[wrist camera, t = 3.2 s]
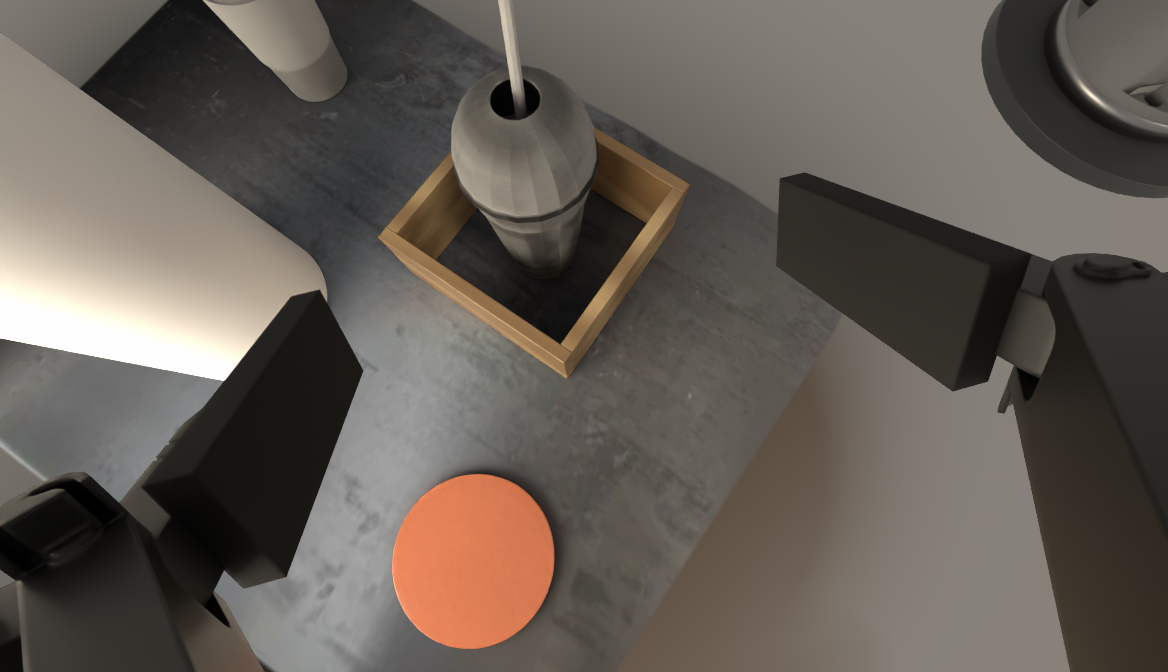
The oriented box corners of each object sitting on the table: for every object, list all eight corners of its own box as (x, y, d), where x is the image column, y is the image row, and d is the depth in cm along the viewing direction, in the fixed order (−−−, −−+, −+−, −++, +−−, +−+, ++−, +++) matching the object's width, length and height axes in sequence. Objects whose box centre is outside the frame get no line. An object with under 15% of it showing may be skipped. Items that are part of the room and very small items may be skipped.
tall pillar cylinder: (359, 299, 34) (-222, -89, 9) (241, 414, 32) (-869, 302, 7) (260, 209, 35) (-453, -322, 11) (143, 314, 33) (-1035, -48, 9)
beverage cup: (487, 292, 34) (359, 81, 14) (501, 200, 36) (404, -100, 16) (589, 302, 34) (598, 102, 14) (598, 209, 35) (618, -83, 16)
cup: (285, 125, 37) (149, -24, 25) (264, 59, 38) (125, -111, 27) (373, 95, 38) (280, -65, 26) (349, 31, 39) (250, -147, 27)
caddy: (523, 136, 37) (512, 78, 31) (672, 228, 35) (690, 184, 29) (412, 273, 34) (377, 236, 28) (567, 379, 32) (564, 363, 27)
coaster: (534, 456, 31) (533, 456, 31) (572, 619, 29) (572, 622, 29) (383, 496, 31) (380, 497, 30) (409, 666, 28) (406, 670, 28)
